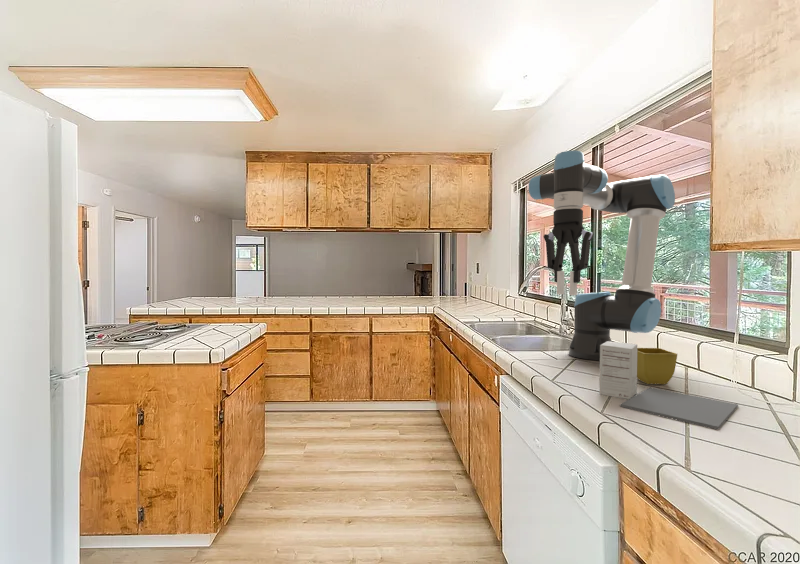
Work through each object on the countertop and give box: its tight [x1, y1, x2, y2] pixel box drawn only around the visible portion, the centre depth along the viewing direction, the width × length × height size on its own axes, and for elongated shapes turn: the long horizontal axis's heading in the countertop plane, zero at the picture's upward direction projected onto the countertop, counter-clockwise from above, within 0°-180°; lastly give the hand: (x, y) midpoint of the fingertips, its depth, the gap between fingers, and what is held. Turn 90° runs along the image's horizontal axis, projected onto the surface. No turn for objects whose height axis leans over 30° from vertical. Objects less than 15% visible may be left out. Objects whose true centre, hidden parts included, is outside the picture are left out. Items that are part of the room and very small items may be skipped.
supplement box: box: [598, 340, 638, 400], centre depth 104 cm, size 7×7×13 cm
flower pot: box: [637, 347, 678, 386], centre depth 114 cm, size 9×9×9 cm
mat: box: [620, 387, 739, 430], centre depth 94 cm, size 20×18×1 cm
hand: (566, 294), depth 113 cm, fingers open, 3 cm apart
